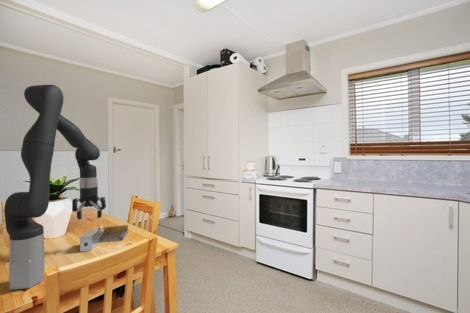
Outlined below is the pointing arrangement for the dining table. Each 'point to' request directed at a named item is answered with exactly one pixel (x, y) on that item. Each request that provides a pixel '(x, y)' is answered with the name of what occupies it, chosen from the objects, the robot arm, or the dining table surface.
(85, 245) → the grey metal block
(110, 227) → the grey channel bracket
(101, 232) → the hitch pin
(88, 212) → the dining table surface
